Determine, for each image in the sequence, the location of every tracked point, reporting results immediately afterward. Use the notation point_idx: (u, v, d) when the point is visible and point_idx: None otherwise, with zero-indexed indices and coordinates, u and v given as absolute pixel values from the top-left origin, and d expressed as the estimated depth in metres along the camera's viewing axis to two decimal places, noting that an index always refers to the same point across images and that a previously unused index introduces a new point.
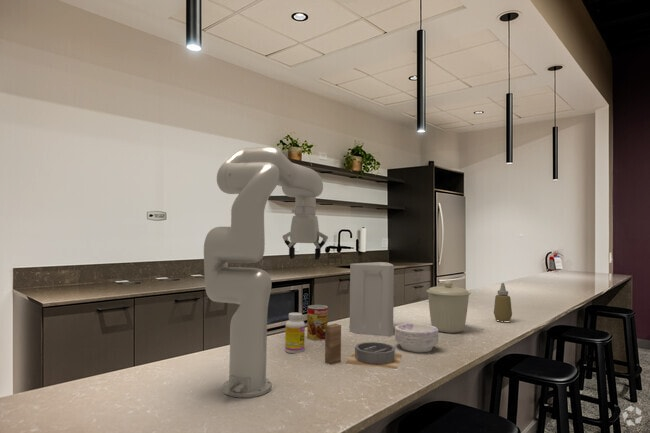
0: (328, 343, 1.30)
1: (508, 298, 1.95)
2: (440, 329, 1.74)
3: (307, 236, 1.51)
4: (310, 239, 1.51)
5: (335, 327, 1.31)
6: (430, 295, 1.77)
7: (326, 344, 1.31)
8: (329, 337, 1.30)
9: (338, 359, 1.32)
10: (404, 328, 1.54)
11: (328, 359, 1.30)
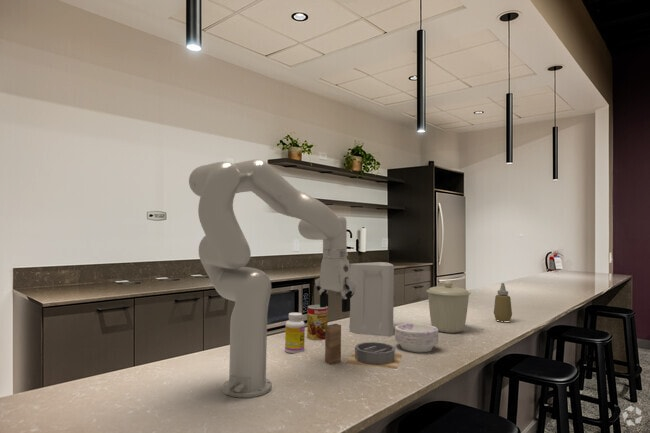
0: (328, 343, 1.30)
1: (508, 298, 1.95)
2: (440, 329, 1.74)
3: None
4: None
5: (335, 327, 1.31)
6: (430, 295, 1.77)
7: (326, 344, 1.31)
8: (329, 337, 1.30)
9: (338, 359, 1.32)
10: (404, 328, 1.54)
11: (328, 359, 1.30)
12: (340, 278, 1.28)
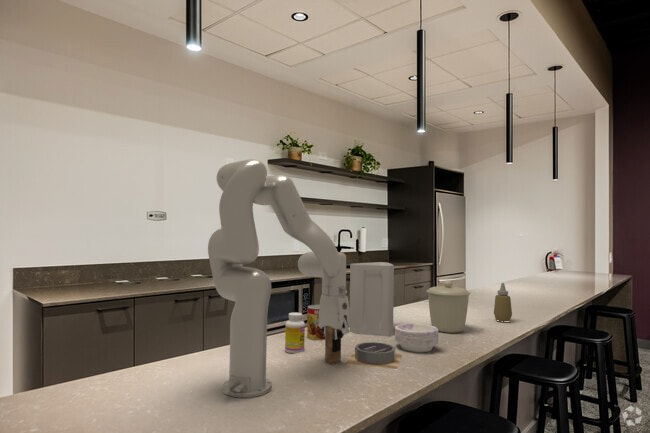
0: (328, 343, 1.30)
1: (508, 298, 1.95)
2: (440, 329, 1.74)
3: None
4: None
5: None
6: (430, 295, 1.77)
7: (326, 344, 1.31)
8: (329, 337, 1.30)
9: (338, 359, 1.32)
10: (404, 328, 1.54)
11: (328, 359, 1.30)
12: (339, 316, 1.28)
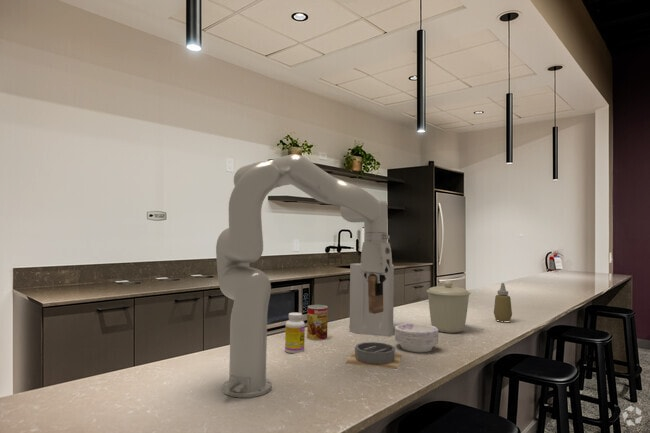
0: (371, 292, 1.35)
1: (508, 298, 1.95)
2: (440, 329, 1.74)
3: None
4: None
5: None
6: (430, 295, 1.77)
7: (369, 293, 1.36)
8: (372, 286, 1.35)
9: (381, 307, 1.37)
10: (404, 328, 1.54)
11: (371, 307, 1.35)
12: (382, 260, 1.32)
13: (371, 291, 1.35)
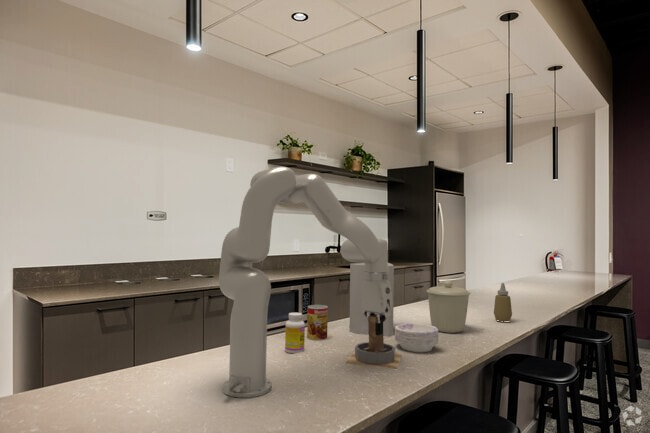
0: (372, 333, 1.35)
1: (508, 298, 1.95)
2: (440, 329, 1.74)
3: None
4: None
5: None
6: (430, 295, 1.77)
7: (370, 334, 1.35)
8: (372, 327, 1.35)
9: (382, 348, 1.37)
10: (404, 328, 1.54)
11: (372, 348, 1.35)
12: (382, 300, 1.32)
13: (371, 332, 1.35)
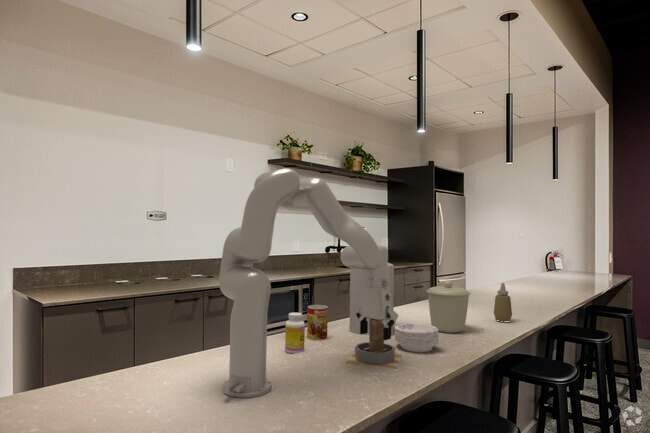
0: (372, 336, 1.35)
1: (508, 298, 1.95)
2: (440, 329, 1.74)
3: None
4: None
5: (379, 320, 1.36)
6: (430, 295, 1.77)
7: (370, 337, 1.36)
8: (373, 330, 1.35)
9: None
10: (404, 328, 1.54)
11: (372, 351, 1.35)
12: (382, 307, 1.32)
13: (372, 335, 1.35)
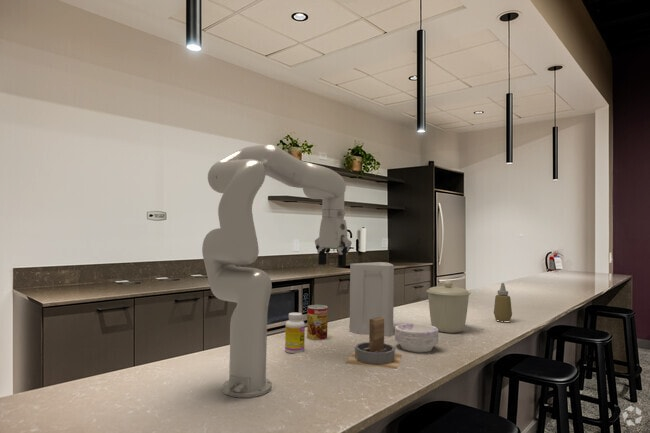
0: (372, 336, 1.35)
1: (508, 298, 1.95)
2: (440, 329, 1.74)
3: None
4: None
5: (379, 320, 1.36)
6: (430, 295, 1.77)
7: (370, 337, 1.36)
8: (373, 330, 1.35)
9: None
10: (404, 328, 1.54)
11: (372, 351, 1.35)
12: (337, 235, 1.39)
13: (372, 335, 1.35)
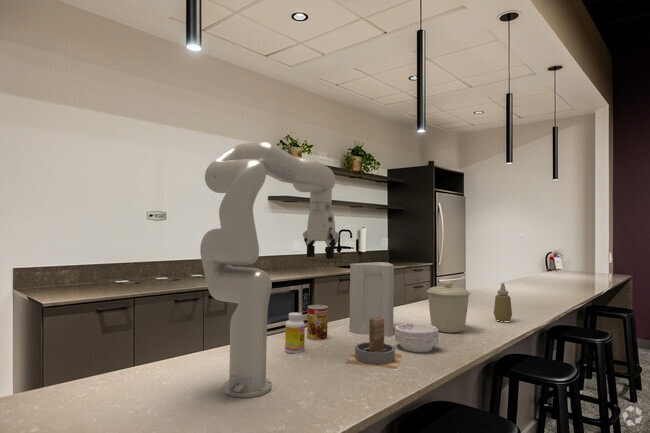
0: (372, 336, 1.35)
1: (508, 298, 1.95)
2: (440, 329, 1.74)
3: None
4: None
5: (379, 320, 1.36)
6: (430, 295, 1.77)
7: (370, 337, 1.36)
8: (373, 330, 1.35)
9: None
10: (404, 328, 1.54)
11: (372, 351, 1.35)
12: (325, 228, 1.41)
13: (372, 335, 1.35)
